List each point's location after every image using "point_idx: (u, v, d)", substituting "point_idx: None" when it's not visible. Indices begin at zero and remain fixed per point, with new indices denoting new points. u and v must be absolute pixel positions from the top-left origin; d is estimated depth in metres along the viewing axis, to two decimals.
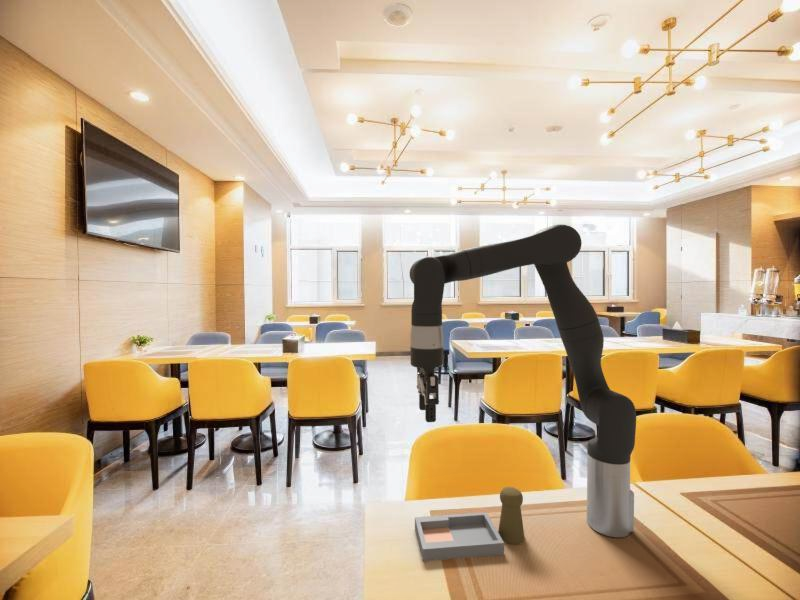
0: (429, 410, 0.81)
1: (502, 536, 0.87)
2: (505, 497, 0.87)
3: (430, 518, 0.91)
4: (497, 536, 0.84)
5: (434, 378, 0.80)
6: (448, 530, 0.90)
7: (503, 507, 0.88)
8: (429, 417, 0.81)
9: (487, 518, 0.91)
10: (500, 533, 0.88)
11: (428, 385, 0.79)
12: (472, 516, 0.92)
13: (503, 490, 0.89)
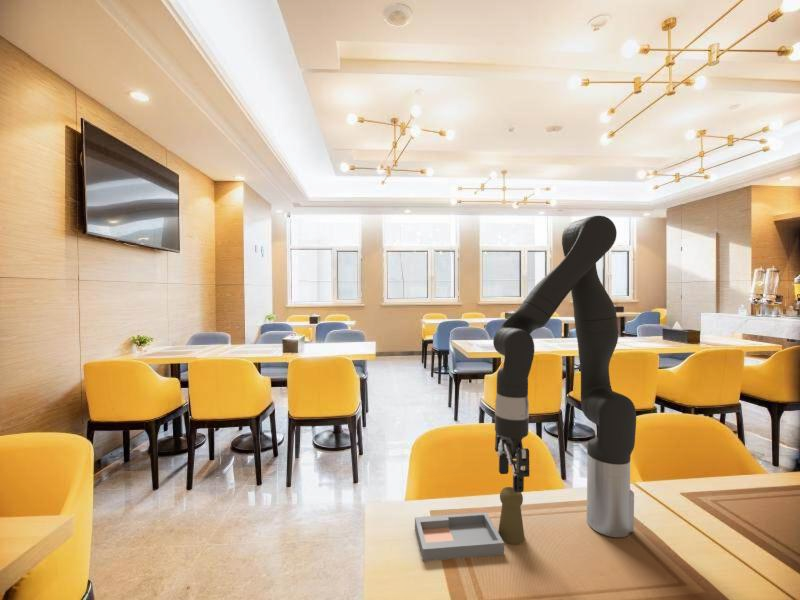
0: (518, 481, 0.83)
1: (502, 536, 0.87)
2: (505, 497, 0.87)
3: (430, 518, 0.91)
4: (497, 536, 0.84)
5: (525, 451, 0.81)
6: (448, 530, 0.90)
7: (503, 507, 0.88)
8: (518, 487, 0.83)
9: (487, 518, 0.91)
10: (500, 533, 0.88)
11: (519, 458, 0.81)
12: (472, 516, 0.92)
13: (503, 490, 0.89)
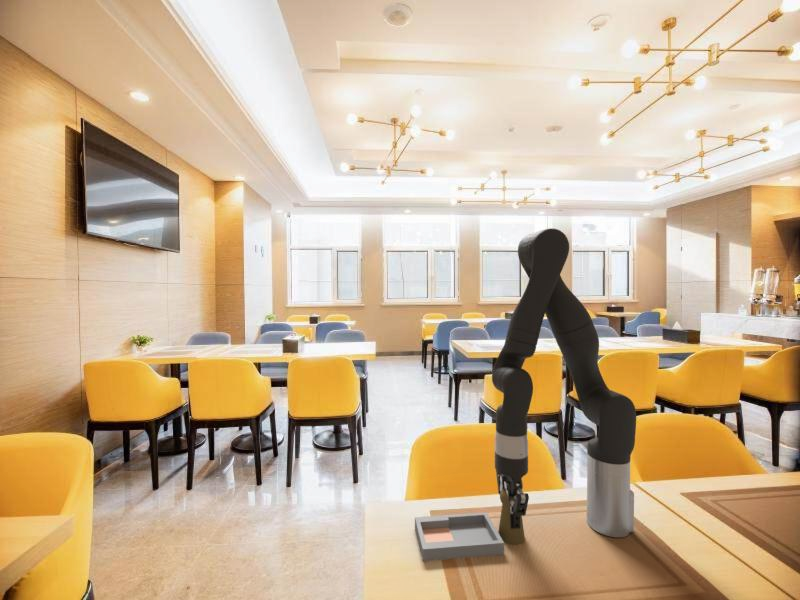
0: (515, 519, 0.85)
1: (502, 536, 0.87)
2: (505, 497, 0.87)
3: (430, 518, 0.91)
4: (497, 536, 0.84)
5: (525, 497, 0.82)
6: (448, 530, 0.90)
7: (503, 507, 0.88)
8: (515, 525, 0.85)
9: (487, 518, 0.91)
10: (500, 533, 0.88)
11: (518, 503, 0.82)
12: (472, 516, 0.92)
13: (503, 490, 0.89)
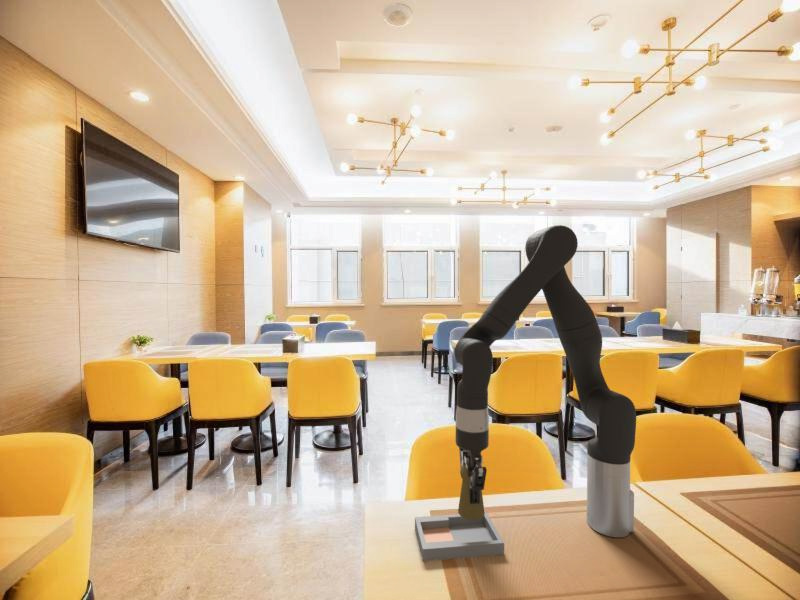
0: (474, 494, 0.84)
1: (461, 512, 0.86)
2: (464, 472, 0.85)
3: (430, 518, 0.91)
4: (497, 536, 0.84)
5: (482, 471, 0.81)
6: (448, 530, 0.90)
7: (463, 482, 0.87)
8: (473, 500, 0.84)
9: (487, 518, 0.91)
10: (460, 509, 0.86)
11: (476, 476, 0.81)
12: None
13: (463, 465, 0.87)
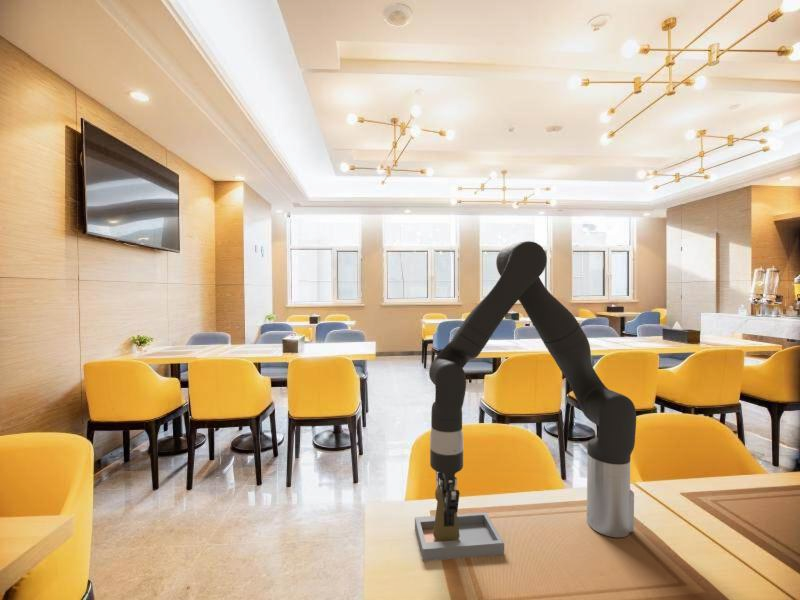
0: (447, 517, 0.83)
1: (436, 534, 0.85)
2: (438, 494, 0.85)
3: (430, 518, 0.91)
4: (497, 536, 0.84)
5: (455, 494, 0.80)
6: None
7: (438, 504, 0.86)
8: (447, 523, 0.83)
9: (487, 518, 0.91)
10: (434, 531, 0.86)
11: (449, 500, 0.80)
12: (472, 516, 0.92)
13: (438, 487, 0.87)
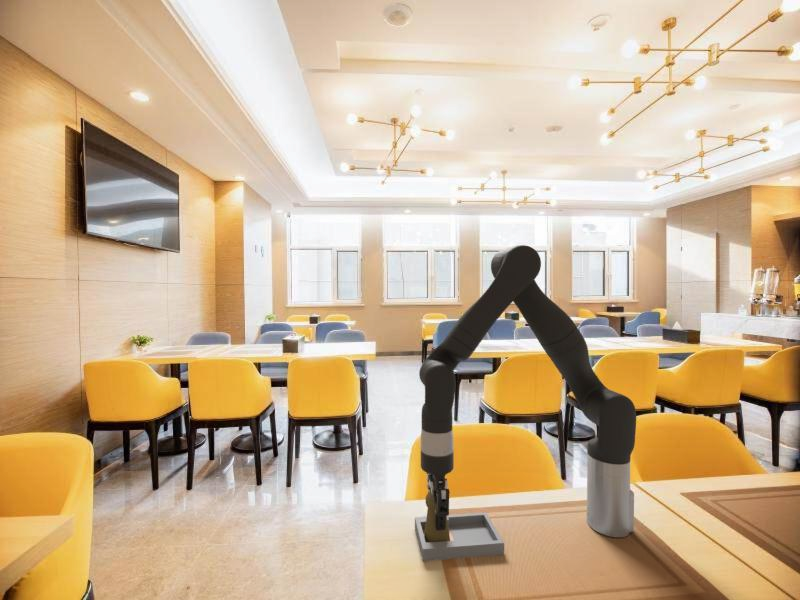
0: (439, 519, 0.82)
1: (426, 540, 0.85)
2: (429, 501, 0.84)
3: None
4: (497, 536, 0.84)
5: (445, 492, 0.80)
6: None
7: (428, 510, 0.85)
8: (439, 526, 0.82)
9: (487, 518, 0.91)
10: (425, 537, 0.85)
11: (439, 499, 0.80)
12: (472, 516, 0.92)
13: (429, 493, 0.86)
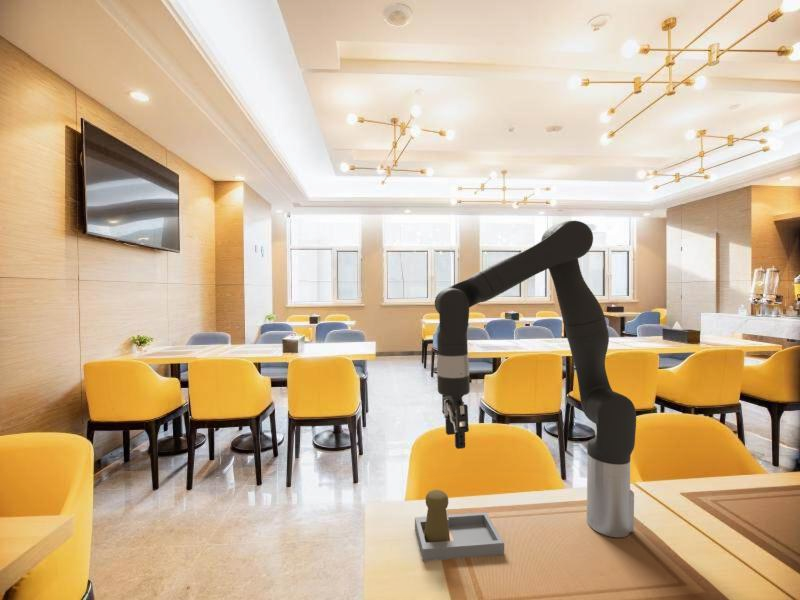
0: (459, 437, 0.84)
1: (426, 540, 0.85)
2: (429, 501, 0.84)
3: None
4: (497, 536, 0.84)
5: (463, 407, 0.83)
6: None
7: (428, 510, 0.85)
8: (459, 443, 0.84)
9: (487, 518, 0.91)
10: (425, 537, 0.85)
11: (458, 414, 0.82)
12: (472, 516, 0.92)
13: (429, 493, 0.86)
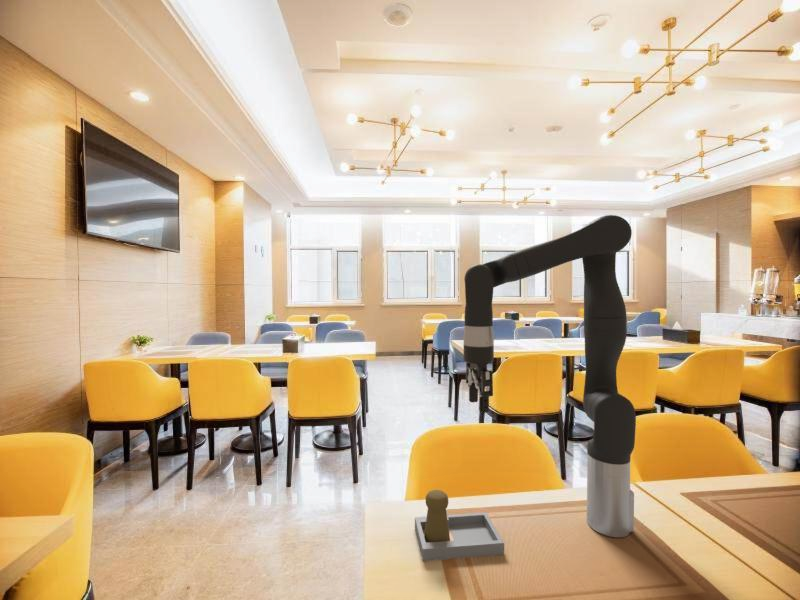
0: (483, 401, 0.91)
1: (426, 540, 0.85)
2: (429, 501, 0.84)
3: None
4: (497, 536, 0.84)
5: (489, 373, 0.89)
6: None
7: (428, 510, 0.85)
8: (483, 407, 0.91)
9: (487, 518, 0.91)
10: (425, 537, 0.85)
11: (483, 379, 0.89)
12: (472, 516, 0.92)
13: (429, 493, 0.86)
